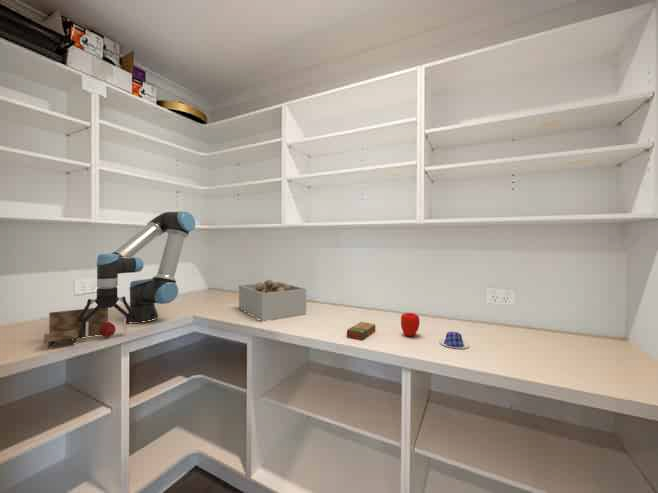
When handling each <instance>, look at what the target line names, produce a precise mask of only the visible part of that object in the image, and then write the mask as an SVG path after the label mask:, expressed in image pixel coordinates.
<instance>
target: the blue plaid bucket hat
mask: <svg viewBox="0 0 658 493" xmlns="http://www.w3.org/2000/svg"><path fill="white" fill-rule="evenodd" d="M439 344H440V345H442V346H445V347H447V348H452V349H460V350H461V349H467V348H469V347H470V345H469V344H468V343H467V342H465V341H464V340H463V336H462V334H461V333H460V332H457V331H448V332H446V336H445V338H443V339H440V340H439Z"/></svg>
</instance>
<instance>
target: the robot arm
mask: <svg viewBox="0 0 658 493" xmlns="http://www.w3.org/2000/svg"><path fill="white" fill-rule="evenodd" d="M195 228H196V219H195V217H194V216H193V214H192V213H191V212H189V211H184V210H180V211H166V212H165V211H164V212H163V213H160V214H159V215H157V216H156V217H154V218H152V220H150V221H149V222H147V224H146V227H144V228H143V229H141V230H140V231H138V233H136V234H135V235H133V237H131V238H129V240H127V241H126V242H124V244H121V246H120V247H118V248H117V249H116V250H114V251H113V252H111V253H100V254H98V255H97V259H96V287H97V289H96V298H95V299H91V298H88V299H87V301H86V305H85V306H84V308H83V309H84V310H83V311H82V313H81V314H80V316H79V318H78V319H77V321H78V322H79V321H80V322H82V323H83V325H82V329H83V330H84V329H86V337H88V329H89V321H87V320H88V319H89V318H90V317H91V316H92V315H93V314H94V313H95V312H96V311H97V310H98V309H99V308H100V307H101V308H108V309H111V308H114V309H116V310H117V311H118V312H119V313H120V314H122V315H123V316H124V317H123V333H126V332H127V327H126V326H127V325H129V324H130V323H129V322H142V321H148V320H152V319H155V318H157V317H158V318H159V314H158V311H157V308H156V306H155V304H160V305H163V304H165V305H166V304H170V303H172V302H173V301H174V300H175V299H176V298H177V297H178V295H179V287H178V284H177V280H176V278H175V275H176V272H177V267H178V264H179V261H180V257H181V253H182V249H183V245H184V242H185V239H186V238H187V237H189V233H190V232H192V231H193V230H194V229H195ZM164 233H167V238H166V242H165V245H164V249H163V252H162V256H161V260H160V264H159V266H158V270H157V273H156V275H154V276H153V277H152V278H147V279H146V278H145V279H136V280H132V281H131V282H130V285H129V303H128V302H127V300H126V296H125V295H124V296H121V297H120V296H119V297H118V283H119V282H118V281H119V279H118V277H119V275H120V274H129V273H132V274H133V273H139V272H141V271H143V269H144V260H143V258H141V257H136V256H135V255H136V254H137V253H139V251H141V250H142V249H144V248H145V247H146V246H147V245H148V244H149V243H150V242H151V241H153V240H154V239H156V237H158V236H162V235H163V234H164ZM118 301H120V302H122V303H123V305H124V307H125V309H127V310H126V311H127V312H126V311H125V309H123V308H122V307H121V306H120V305H118V303H117V302H118ZM94 303H95V304H96V306H95V307H93V308H94V309H93V310H92V311H91V312H90V313H89V314H88V315H87V316H86V317H85V318H84V319H83V318H82V317H83V316H84V314H85V313H86V311H87V310H88V309H89V308H90V306H91V305H93V304H94ZM88 338H89V337H88Z"/></svg>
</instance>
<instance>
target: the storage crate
mask: <svg viewBox="0 0 658 493" xmlns="http://www.w3.org/2000/svg"><path fill="white" fill-rule="evenodd" d="M275 282H276V283H277V284H278V286H279V287H282V288H283V287H284V285H286V284H287V285H290V287H291V290H288V291H278V292H277V289H276V292H269V293H265V290H266V289H265V288H266V286H265V284H264V286H265V288H264V290H262V292H263V293H262V292H259V291H257V290H256V289H255V285H256V284H257V283H250V284H249V283H247V284H239V285H238V309H239V308H240V309H242V310H243V311H245V312H247V313H249V314H251V315H253V316H254V317H256V318H258V319H260V320H261V321H265V322H268V321H267V320H271V321H275V320H274V319H277V320H282V319H281V318H283V319H288V318H287V317H289V318H293V317H294V316H295V317H299V316H300V315H301V316H305V315H307V288H305V287H300V286H296V285H292V284H288V283H285V282H280V281H275ZM271 290H272V288H271ZM240 309H239V310H240ZM243 311H242V312H243ZM245 312H244V313H245ZM247 313H246V314H247ZM249 314H248V315H249ZM254 317H253V318H254ZM256 318H255V319H256ZM258 319H257V320H258ZM261 321H260V322H261Z"/></svg>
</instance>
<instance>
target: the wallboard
mask: <svg viewBox="0 0 658 493" xmlns="http://www.w3.org/2000/svg"><path fill="white" fill-rule="evenodd" d="M94 308H95V307H91V308H90V307H89V308H88V310H87V311H86V313H85V314H84V316H83V317H82V318H83V319H84V318H85V317H86V316H87V315H88V314H89V313H90V312H91V311H92V310H93V309H94ZM83 310H84V308H83V309H82V308H81V309H72V310H62V311H61V310H60V311H53V312H49V313H48V316H49V319H48V320H49V322H48V323H49V326H48V328H49V330H48V331H49V332H48V334H49V333H51V332H59V331H66V330H74V329H80V332H79V335H78V338H82V337H86V329H84V330H83V329H82V325H83V323H82V322H80V321H79V322H78V321H77V319H78V318H79V316H80V314H81V313H82V311H83ZM87 321H89V329H88V336H95V335H100V333H99V330H100V327H101V326H102V325H103V324H105V322H106V321H108V322H109V308H101V307H100V308H99V309H98V310H97V311H96V312H95V313H94V314H93V315H92V316H91V317H90V318H89V319H88V320H87ZM95 337H96V336H95ZM72 339H73V338H72ZM72 339H65V340H58V341H55V343H60V342H59V341H61V342H66V341H67V340H68V341H73V340H72ZM82 339H83V338H82Z"/></svg>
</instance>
